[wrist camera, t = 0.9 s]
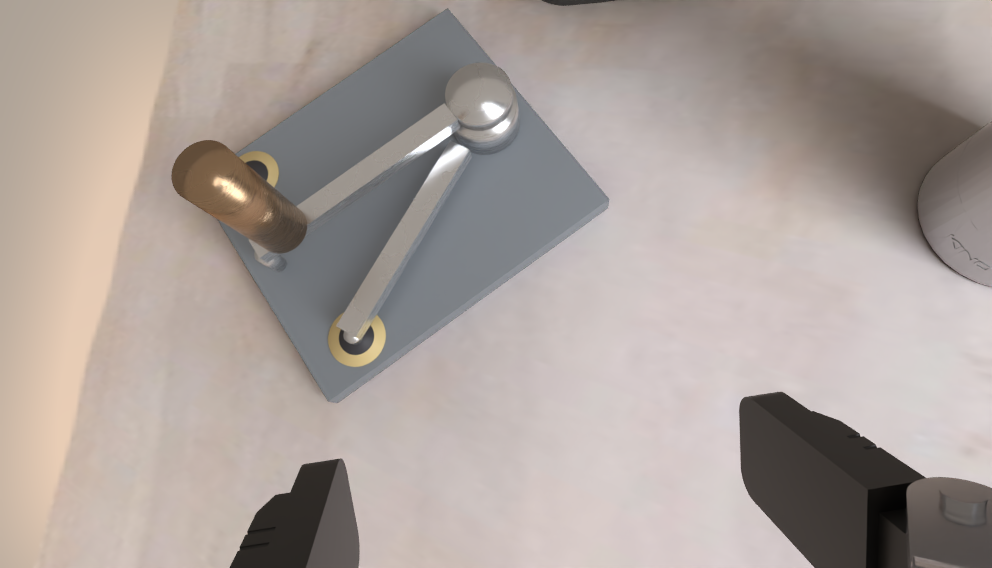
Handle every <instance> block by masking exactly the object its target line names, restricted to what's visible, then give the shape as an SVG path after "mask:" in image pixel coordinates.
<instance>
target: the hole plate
mask: <svg viewBox="0 0 992 568" xmlns="http://www.w3.org/2000/svg"><path fill="white" fill-rule="evenodd" d="M479 62H482V63H490V64H493V65H495V64H494V62H493V61H492V60H491V59H490V58H489V57H488V55H487V54H486V53H485V52H484V51H483V49H482V48H481V47H480V46H479V45H478V44H477V42H476V41H475V40H474V39H473V38H472V36H471V35H470V34H469V33H468V32H467V31H466V29H465V28H464V27H463V26H462V25H461V23H460V22H459V21H458V20H457V19H456V18H455V16H454V15H453V14H452V13H451V12H450V10H449V9H448V8H447V9H446V10H444V11H443V12H441V13H440V14H438V15H437V16H436V17H434V18H433V19H431V20H430V21H428V22H427V23H425V24H424V25H422V26H421V27H420V28H418V29H417V30H415V31H414V32H412V33H411V34H409V35H408V36H406V37H405V38H404V39H402V40H401V41H399V42H398V43H396V44H395V45H393V46H392V47H390V48H389V49H388V50H386V51H385V52H383V53H382V54H380V55H379V56H377V57H376V58H374V59H373V60H372V61H370V62H369V63H367V64H366V65H364V66H363V67H361V68H360V69H358V70H357V71H356V72H354V73H353V74H351V75H350V76H348V77H347V78H345V79H344V80H342V81H341V82H340V83H338V84H337V85H335V86H334V87H332V88H331V89H329V90H328V91H326V92H325V93H324V94H322V95H321V96H319V97H318V98H316V99H315V100H313V101H312V102H310V103H309V104H308V105H306V106H305V107H303V108H302V109H300V110H299V111H297V112H296V113H294V114H293V115H292V116H290V117H289V118H287V119H286V120H284V121H283V122H281V123H280V124H278V125H277V126H276V127H274V128H273V129H271V130H270V131H268V132H267V133H265V134H264V135H262V136H261V137H260V138H258V139H257V140H255V141H254V142H252V143H251V144H249V145H248V146H246V147H245V148H244V149H242V150H241V151H239V152H238V153H236V154H235V155H237V156H238V157H239V158H240V159H241V160H242V161H244V162H245V163H246V164H247V165H248V166H249V167H251V168H252V169H253V170H254V171H255V172H256V173H258V174H259V175H260V176H261V177H262V178H263V179H265V180H266V181H267V182H268V183H269V184H271V185H272V186H273V187H274V188H275V189H276V190H278V191H279V192H280V193H281V194H282V195H283V196H285V197H286V198H287V199H288V200H289V201H290V202H292V203H293V204H294V205H295V206H297V205H299V204H300V203H302V202H303V201H305V200H306V199H307V198H309V197H310V196H312V195H313V194H315V193H316V192H318V191H319V190H320V189H322V188H323V187H325V186H326V185H328V184H329V183H330V182H332V181H333V180H335V179H336V178H338V177H339V176H340V175H342V174H343V173H345V172H346V171H348V170H349V169H350V168H352V167H353V166H355V165H356V164H358V163H359V162H361V161H362V160H363V159H365V158H366V157H368V156H369V155H371V154H372V153H373V152H375V151H376V150H378V149H379V148H381V147H382V146H383V145H385V144H386V143H388V142H389V141H391V140H392V139H394V138H395V137H396V136H398V135H399V134H401V133H402V132H404V131H405V130H406V129H408V128H409V127H411V126H412V125H414V124H415V123H416V122H418V121H419V120H421V119H422V118H424V117H425V116H427V115H428V114H429V113H431V112H432V111H434V110H435V109H437V108H438V107H439V106H441V105H442V104H444V103H445V105H446V100H445V90H446V86H447V84H448V81H449V80H450V78H451V77H452V76H453V74H454V73H455V72H456V71H458V70H459V69H461V68H462V67H464V66H466V65H469V64H472V63H479ZM495 66H496V65H495ZM511 85H512V84H511ZM512 87H513V88H514V90H515V93H516V97H517V103H518V110H519V116H520V128H519V132H518V134H517V136H516V138H515V140H514V141H513V142H512V143H511V144H510V145H509V146H508V147H507V148H506V149H504V150H502V151H500V152H498V153H495V154H491V155H479V154H474V153H471V152H470V153H471V156H472V158H471V159H470V161H469V163H468V164H467V166H466V168H465V169H464V171H463V173H462V174H461V176H460V178H459V179H458V181H457V183H456V184H455V186H454V187H453V189H452V191H451V192H450V194H449V196H448V197H447V199H446V201H445V202H444V204H443V206H442V207H441V209H440V211H439V212H438V214H437V216H436V217H435V219H434V221H433V222H432V224H431V226H430V227H429V229H428V230H427V232H426V234H425V235H424V237H423V239H422V240H421V242H420V244H419V245H418V247H417V249H416V250H415V252H414V254H413V255H412V257H411V259H410V260H409V262H408V264H407V265H406V267H405V269H404V270H403V272H402V273H401V275H400V277H399V278H398V280H397V282H396V283H395V285H394V287H393V288H392V290H391V292H390V293H389V295H388V297H387V298H386V300H385V302H384V303H383V305H382V307H381V308H380V310H379V311H378V313H377V315H376V316H375V318H374V320H373V321H372V323H371V325H370V326H369V328H368V330H367V331H366V333H365V335H364V336H363V340H362V341H361V343H359V344H357V345H353V344H350V343H348V342H346V341H345V339H344V336H343V334H344V331H343V330H342V329H340V328H338V327H336V325H337V323H338V322H339V320H340V319H341V317H342V315H343V314H344V312H345V310H346V309H347V307H348V306H349V304H350V302H351V301H352V299H353V297H354V296H355V294H356V293H357V291H358V289H359V288H360V286H361V284H362V283H363V281H364V280H365V278H366V276H367V275H368V273H369V271H370V270H371V268H372V267H373V265H374V263H375V262H376V260H377V258H378V257H379V255H380V254H381V252H382V250H383V249H384V247H385V245H386V244H387V242H388V241H389V239H390V237H391V236H392V234H393V232H394V231H395V229H396V228H397V226H398V224H399V223H400V221H401V219H402V218H403V216H404V215H405V213H406V211H407V210H408V208H409V206H410V205H411V203H412V202H413V200H414V198H415V197H416V195H417V193H418V192H419V190H420V189H421V187H422V185H423V184H424V182H425V180H426V179H427V177H428V176H429V174H430V172H431V171H432V169H433V167H434V166H435V164H436V163H437V161H438V159H439V158H440V156H441V154H442V153H443V151H444V150H445V148H446V146H447V145H448V143H449V141H452V142H454V143H457V144H459V142H458V141H457V139H456V137H455V135H454V133H453V134H451V135H450V136H448V137H447V138H445V139H444V140H443V141H441V142H440V143H438V144H437V145H435V146H434V147H433V148H431V149H430V150H428V151H427V152H425V153H424V154H423V155H421V156H420V157H418V158H417V159H415V160H414V161H413V162H411V163H410V164H408V165H407V166H405V167H404V168H403V169H401V170H400V171H398V172H397V173H395V174H394V175H393V176H391V177H390V178H388V179H387V180H385V181H384V182H383V183H381V184H380V185H378V186H377V187H376V188H374V189H373V190H371V191H370V192H368V193H367V194H366V195H364V196H363V197H361V198H360V199H358V200H357V201H356V202H354V203H353V204H351V205H350V206H348V207H347V208H346V209H344V210H343V211H341V212H340V213H338V214H337V215H336V216H334V217H333V218H331V219H330V220H328V221H327V222H326V223H324V224H323V225H321V226H320V227H318V228H317V229H316V230H314V231H313V232H311V233H310V234H308V235H307V236H306V237H305V238H304V239H303V241H302V242H301V244H300V245H299V246H298V247H296V248H295V249H294V250H292V251H290V252H287V253H282V254H280V256H282V257H284V258H285V259H286V261H287V265H286V268H285V269H284V270H283V271H281V272H276V271H274V270H272V269H270V268H269V267H267V266H265V265H263V264H262V263H260V262H258V261H257V260H256V259H255V257H254V253H255V250H254V248H253V247H252V245H251V244H250V242H249V238H247V237H245V236H244V235H242V234H241V233H239V232H237V231H236V230H234V229H233V228H231V227H229V226H228V225H226V224H225V223H223V222H221V221H220V220H218V221H219V223H220V224H221V226H222V228H223V229H224V231H225V233H226V234H227V236H228V237H229V239H230V241H231V242H232V244H233V246H234V247H235V249H236V251H237V252H238V254H239V256H240V257H241V259H242V261H243V262H244V264H245V265H246V267H247V269H248V270H249V272H250V274H251V275H252V277H253V279H254V280H255V282H256V284H257V285H258V287H259V288H260V290H261V292H262V293H263V295H264V297H265V298H266V300H267V302H268V303H269V305H270V307H271V308H272V310H273V312H274V313H275V315H276V316H277V318H278V320H279V321H280V323H281V325H282V326H283V328H284V330H285V331H286V333H287V335H288V336H289V338H290V339H291V341H292V343H293V344H294V346H295V348H296V349H297V351H298V353H299V354H300V356H301V358H302V359H303V361H304V362H305V364H306V366H307V367H308V369H309V371H310V372H311V374H312V376H313V377H314V379H315V381H316V382H317V384H318V386H319V387H320V389H321V390H322V392H323V394H324V395H325V397H326V399H327V400H328V402H334V403H338V402H340V401H341V400H342V399H344V398H345V397H347V396H348V395H349V394H351V393H352V392H353V391H355V390H356V389H358V388H359V387H360V386H362V385H363V384H365V383H366V382H367V381H369V380H370V379H372V378H373V377H374V376H376V375H377V374H378V373H380V372H381V371H383V370H384V369H385V368H387V367H388V366H390V365H391V364H392V363H394V362H395V361H396V360H398V359H399V358H401V357H402V356H403V355H405V354H406V353H408V352H409V351H410V350H412V349H413V348H415V347H416V346H417V345H419V344H420V343H421V342H423V341H424V340H426V339H427V338H428V337H430V336H431V335H433V334H434V333H435V332H437V331H438V330H439V329H441V328H442V327H444V326H445V325H446V324H448V323H449V322H451V321H452V320H453V319H455V318H456V317H458V316H459V315H460V314H462V313H463V312H464V311H466V310H467V309H469V308H470V307H471V306H473V305H474V304H476V303H477V302H478V301H480V300H481V299H482V298H484V297H485V296H487V295H488V294H489V293H491V292H492V291H494V290H495V289H496V288H498V287H499V286H501V285H502V284H503V283H505V282H506V281H507V280H509V279H510V278H512V277H513V276H514V275H516V274H517V273H519V272H520V271H521V270H523V269H524V268H525V267H527V266H528V265H530V264H531V263H532V262H534V261H535V260H537V259H538V258H539V257H541V256H542V255H544V254H545V253H546V252H548V251H549V250H550V249H552V248H553V247H555V246H556V245H557V244H559V243H560V242H562V241H563V240H564V239H566V238H567V237H568V236H570V235H571V234H573V233H574V232H575V231H577V230H578V229H580V228H581V227H582V226H584V225H585V224H587V223H588V222H589V221H591V220H592V219H593V218H595V217H596V216H598V215H599V214H600V213H602V212H603V211H605V210H606V209H607V208H608V204H609V198H608V197H607V196H606V195H605V194H604V192H603V191H602V190H601V189H600V188H599V186H598V185H597V184H596V183H595V182H594V181H593V179H592V178H591V177H590V176H589V175H588V173H587V172H586V171H585V170H584V169H583V168H582V166H581V165H580V164H579V163H578V162H577V160H576V159H575V158H574V157H573V156H572V155H571V153H570V152H569V151H568V150H567V149H566V147H565V146H564V145H563V144H562V143H561V142H560V140H559V139H558V138H557V137H556V136H555V134H554V133H553V132H552V131H551V130H550V129H549V127H548V126H547V125H546V124H545V123H544V122H543V120H542V119H541V118H540V117H539V116H538V114H537V113H536V112H535V111H534V110H533V109H532V107H531V106H530V105H529V104H528V103H527V101H526V100H525V99H524V98H523V97H522V96H521V94H520V93H519V92H518V91H517V90H516V88H515V87H514V86H513V85H512ZM459 145H460V144H459Z"/></svg>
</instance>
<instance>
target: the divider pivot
mask: <svg viewBox="0 0 992 568" xmlns="http://www.w3.org/2000/svg"><path fill="white" fill-rule="evenodd" d="M511 86H512V85H511ZM512 92H513V106H512V109H511V112H510V113H509V115H508V116H507V118H506V119H505V120H504V121H503V122H502V123H501V124H499V125H498V126H496V127H494V128H492V129H489V130H485V131H472V130H468V129H465V128H463V127H461V126H460V125H459V126H460V129H458V130H457V131H455V132H454V135H455V137H456V139H457V141H458V142H459V144H460V145H459V144H457V143H454V142H452V141H449V143H448V145H447V146H446V148H445V150H444V151H443V153H442V154H441V156H440V158H439V159H438V161H437V163H436V164H435V166H434V167H433V169H432V171H431V172H430V174H429V176H428V177H427V179H426V180H425V182H424V184H423V185H422V187H421V189H420V190H419V192H418V193H417V195H416V197H415V198H414V200H413V202H412V203H411V205H410V206H409V208H408V210H407V211H406V213H405V215H404V216H403V218H402V219H401V221H400V223H399V224H398V226H397V228H396V229H395V231H394V232H393V234H392V236H391V237H390V239H389V241H388V242H387V244H386V245H385V247H384V249H383V250H382V252H381V254H380V255H379V257H378V258H377V260H376V262H375V263H374V265H373V267H372V268H371V270H370V271H369V273H368V275H367V276H366V278H365V280H364V281H363V283H362V284H361V286H360V288H359V289H358V291H357V293H356V294H355V296H354V297H353V299H352V301H351V302H350V304H349V306H348V307H347V309H346V310H345V312H344V314H343V315H342V317H341V319H340V320H339V322H338V323H337V325H336V327H338V328H340V329H342V330H343V331H344V334H343V336H344V339H345V341H346V342H348V343H350V344H353V345H357V344H359V343H361V341H362V340H363V336H364V335H365V333H366V331H367V330H368V328H369V326H370V325H371V323H372V321H373V320H374V318H375V316H376V315H377V313H378V311H379V310H380V308H381V307H382V305H383V303H384V302H385V300H386V298H387V297H388V295H389V293H390V292H391V290H392V288H393V287H394V285H395V283H396V282H397V280H398V278H399V277H400V275H401V273H402V272H403V270H404V269H405V267H406V265H407V264H408V262H409V260H410V259H411V257H412V255H413V254H414V252H415V250H416V249H417V247H418V245H419V244H420V242H421V240H422V239H423V237H424V235H425V234H426V232H427V230H428V229H429V227H430V226H431V224H432V222H433V221H434V219H435V217H436V216H437V214H438V212H439V211H440V209H441V207H442V206H443V204H444V202H445V201H446V199H447V197H448V196H449V194H450V192H451V191H452V189H453V187H454V186H455V184H456V183H457V181H458V179H459V178H460V176H461V174H462V173H463V171H464V169H465V168H466V166H467V164H468V163H469V161H470V159H471V158H472V156H471V153H474V154H479V155H491V154H495V153H498V152H500V151H502V150H504V149H506V148H507V147H508V146H509V145H510V144H511V143H512V142H513V141H514V140H515V138H516V136H517V134H518V132H519V128H520V116H519V110H518V103H517V97H516V93H515V90H514V88H513V87H512ZM446 106H447V103H446ZM447 107H448V106H447ZM470 152H471V153H470Z"/></svg>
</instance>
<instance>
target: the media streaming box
mask: <svg viewBox="0 0 992 568" xmlns="http://www.w3.org/2000/svg"><path fill="white" fill-rule="evenodd" d="M542 1H545V2H547V3H551V4H555V5H576V4H587V3H596V2H606V1H614V0H542Z"/></svg>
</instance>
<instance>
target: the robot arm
mask: <svg viewBox="0 0 992 568" xmlns="http://www.w3.org/2000/svg"><path fill="white" fill-rule="evenodd" d="M917 206H918V215H919V222H920V224H921V227H922V230H923V233H924V236H925V237H926V239H927V241H928V242H929V244H930V246H931V247H932V249H933V250H934V251H935V252H936V253H937V255H938V256H939V257H940V258H941V259H942V260H943V261H944V262H945V263H946V264H947V265H949V266H950V267H951V268H953V269H954V270H955V271H957V272H958V273H959V274H961V275H963V276H965V277H967V278H969V279H971V280H973V281H975V282H977V283H980V284H984V285H987V286H990V287H992V122H990V123H989V124H987V125H986V126H984V127H983V128H982V129H980V130H979V131H978V132H976V133H975V134H974V135H972V136H971V137H970V138H968V139H967V140H966V141H964V142H963V143H962V144H960V145H959V146H958V147H956V148H955V149H954V150H952V151H951V152H950V153H948V154H947V155H946V156H945V157H943V158H942V159H941V160H940V161H938V162H937V163H936V164H935V165H934V166H933V167H932V168H931V170H930V171H929V172H928V174H927V175H926V176H925V178H924V181H923V183H922V185H921V188H920V190H919V197H918V204H917ZM739 416H740V452H741V472H742V477H743V481H744V484H745V487H746V489H747V491H748V493H749V495H750V497H751V498H752V499H753V501H754V502H755V503H756V504H757V505H758V506H759V507H760V508H761V510H762V511H763V512H764V513H765V514H766V515H767V516H768V517H769V518H770V519H771V520H772V522H773V523H774V524H775V525H776V526H777V527H778V528H779V529H780V530H781V531H782V532H783V534H784V535H785V536H786V537H787V538H788V539H789V540H790V541H791V542H792V543H793V545H794V546H795V547H796V548H797V549H798V550H799V551H800V552H801V553H802V554H803V555H804V557H805V558H806V559H807V560H808V561H809V562H810V563H811V564H812V565H813V566H814V567H815V568H992V488H990V487H987V486H985V485H982V484H979V483H975V482H971V481H967V480H962V479H956V478H946V477H932V478H925V477H924V476H922V475H921V474H919V473H918V472H916V471H915V470H913V469H912V468H910V467H909V466H907V465H906V464H904V463H903V462H901V461H900V460H898V459H897V458H895V457H894V456H892V455H891V454H889V453H888V452H886V451H885V450H883V449H882V448H877V447H876V444H874V443H873V442H871V441H870V440H868V439H867V438H865V437H860V434H859V433H858V432H856V431H855V430H853V429H852V428H850V427H849V426H847V425H846V424H844V423H843V422H841V421H839V420H836V419H833V418H831V417H828V416H825V415H822V414H820V413H817V412H814V411H812V412H811V411H810V410H808V409H807V408H805V407H804V406H802V405H801V404H800V403H798V402H797V401H795V400H794V399H792V398H791V397H789V396H788V395H786V394H785V393H783V392H775V393H769V394H762V395H756V396H749V397H744V398H743V399H742V400H741V403H740V408H739ZM247 532H248V535H245V537H244V539H243V542H242V544H241V546H240V551H238V552H237V554H236V556H235V558H234V560H233V562H232V564H231V566H230V568H358V566H359V536H358V529H357V523H356V518H355V513H354V508H353V502H352V497H351V492H350V487H349V481H348V476H347V471H346V467H345V464H344V461H343V460H342V459H335V460H329V461H322V462H316V463H309V464H303V465H302V466H301V468H300V471H299V473H298V475H297V478H296V480H295V483H294V485H293V487H292V490H291V492H290V493H285V494H278V495H275V496H274V497H273V498H272V499H271V500H270V501H269V502H268V503H266V504H265V505H264V506H263V507H262V508H261V509H260V510H259V511H258V512H257V513H256V515H255V517H254V519H253V521H252V523H251V525H250V527H249V529H248V531H247Z"/></svg>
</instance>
